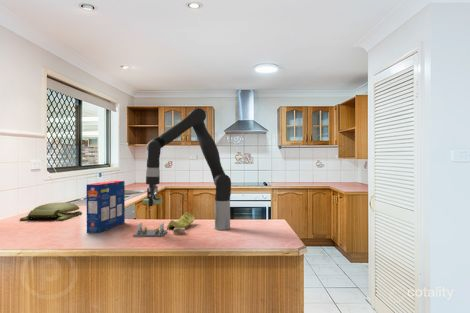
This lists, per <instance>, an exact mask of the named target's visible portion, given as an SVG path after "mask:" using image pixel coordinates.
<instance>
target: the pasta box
mask: <svg viewBox="0 0 470 313" xmlns="http://www.w3.org/2000/svg"><path fill="white" fill-rule="evenodd" d="M125 191H126V189H125V180H109V181H104V182H96V183H89V184H88V183H87V184H86V233H88V234H89V233H91V234H100V233H101V234H102V233H103V232H105V231H108V230H111V229H113V228H116V227H118V226H120V225H123V224H124V225H125V223H126V221H125V217H126V215H125V214H126V213H125V212H126V211H125V199H126V198H125V197H126V195H125V193H126V192H125Z"/></svg>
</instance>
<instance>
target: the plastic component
mask: <svg viewBox="0 0 470 313" xmlns="http://www.w3.org/2000/svg"><path fill="white" fill-rule="evenodd" d="M195 220H196V219H195V216H194V215H193V214H190V213H189V212H186V211H185V212H184V213H183V214H182V215H181V216H180V218H179V219H178V220H173V219H171V220H170V221H169V223H167V224H168V225H167V226H166V230H167V229H168V230H169V229H171V228H173V227H174V228H185V229H187V228H188V227H190V226H191V224H193V223H194V221H195Z"/></svg>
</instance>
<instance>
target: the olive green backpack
mask: <svg viewBox="0 0 470 313" xmlns="http://www.w3.org/2000/svg"><path fill="white" fill-rule="evenodd" d="M70 212H71V213H70ZM65 213H69V214H65ZM81 214H83V212H82V211H80V207H79V205H77V204H75V203H70V202H51V203H45V204H42V205H38V206H36V207H34V208H33V209H32V210H30V212H29V213H28V214H27V215H26V216H23V217H20V219H19V221H20V222H26V221H29V220H33V219H37V218H41V219H43V218H44V219H45V218H56V221H58V222H65V221H66V220H69V219H71V218H74V217H77V216H80V215H81ZM57 217H58V218H57Z"/></svg>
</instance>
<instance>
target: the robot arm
mask: <svg viewBox="0 0 470 313" xmlns="http://www.w3.org/2000/svg"><path fill="white" fill-rule="evenodd" d="M206 118H207V113H206V111H205V110H204V109H203V108H200V107H196V108H193V109H192V110H191V111H189V113H188V114H187V116H186V117H185V118H183V119H182V120H181V121H179V122H177V123H176V124H174V125H173V126H171V127H169V128H167V129H166V130H164V131H163V132H161V134H159V135H158V136H156V137H155V138H153V139H151V140H149V142H147V144H146V150H147V159H146V170H145V184H146V185H148V188H146V190H147V192H146V194H147V196H146V197H147V198H146V199H149V204H148V207H153V206H154V205H156V204H153V199H154V198H158V188H159V186H158V185H159V184H160V181H161V180H160V177H161V173H160V172H161V170H160V166H161V165H160V164H161V163H160V158H161V157H160V156H161V149H162V148H164V147H165V146H166V145H168V144H170V143H172V142H173V141H175V140H176V139H177V138H179V137H180V136H182V135H183V134H184V133H185V132H187V131H189V129H191V128H192V129H193V132H194V133H195V134H196V137H197V141H198V144H199V147H200V150H201V152H202V154H203V156H204V157H203V158H204V159H205V161H206V163H207V166H208V168H209V170H210V173H211V176H212V179H213V180H212V181H213V182H214V183H213V184H214V186H215V194H214V229H215V230H216V231H217V230H218V231H228V230H230V229H231V194H232V181H231V178H230V176H229V175H227V174H226V172H225V170H224V168H223V166H222V163H221V157H220V153H219V149H218V146H217V144H216V142H215V140H214V139H213V137H212V135H211V134H210V133H209V131H208V130H207V128H206V124H205V120H206Z"/></svg>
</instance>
